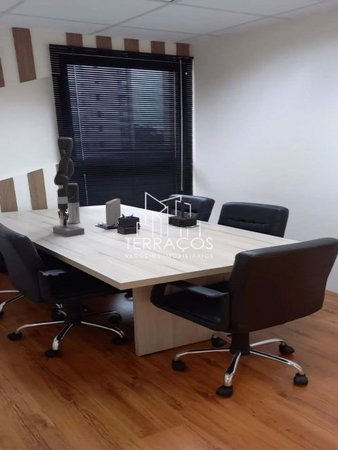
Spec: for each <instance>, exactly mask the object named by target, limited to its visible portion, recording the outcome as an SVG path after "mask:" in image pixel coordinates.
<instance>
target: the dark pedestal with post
mask: <svg viewBox="0 0 338 450" xmlns="http://www.w3.org/2000/svg"><path fill="white" fill-rule="evenodd" d="M185 203H186V200H183V199H181V200H180V208H181V209H180V211H181V212H180V213H181V214H178V215H172V216H168V217H167V219H168V225H171V226H176V227H182V228H188V227H193V226H197V224H198V217H195V216H189V215H185Z"/></svg>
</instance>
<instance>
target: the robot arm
mask: <svg viewBox="0 0 338 450" xmlns="http://www.w3.org/2000/svg"><path fill="white" fill-rule="evenodd" d="M57 147H58V148H57V149H58V150H59V151H58V152H59V156H60V160H59V162H58V166H57V172H56V174H55V176H54V178H53V182H54V185H55V186H62V188H58V189H57V190H56V191H57V200H56V201H57V209H58V210H59V211H57V215H58V218H59V220H60V218H63V222H64V226H66V225H67V220H68V224H79V223H81V216H80V215H81V213H80V197H79V196H80V195H79V192H80V190H79V188H80V187H79V184H78V183H77V182H70V179H71V177H72V176H73V174H74V172H75V165H74V161H73V160H72V159H71V155H72V151H73V148H74V140H73V138H72V137H58V138H57ZM68 195H73V196H72V197H69V198H68ZM64 218H65V219H64Z"/></svg>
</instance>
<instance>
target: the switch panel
mask: <svg viewBox="0 0 338 450" xmlns="http://www.w3.org/2000/svg"><path fill="white" fill-rule="evenodd" d="M52 232H53V233H55V234H58V235H62V236H65V237H73V236H78V235H85V228H84V227H80V226H78V225H74V224H71V223H68V226H63V227H62V226H60V225H56V226H52Z"/></svg>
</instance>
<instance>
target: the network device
mask: <svg viewBox="0 0 338 450" xmlns="http://www.w3.org/2000/svg"><path fill="white" fill-rule="evenodd" d="M121 207H122V206H121V198H114V199H112V200H109V201H107V202H105V223H106V225H108V226H114V225H113V224H118V223H117V222H119V221H118V217H120V216H121V217H122V213H121V211H122V210H121ZM106 225H105V226H106Z"/></svg>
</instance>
